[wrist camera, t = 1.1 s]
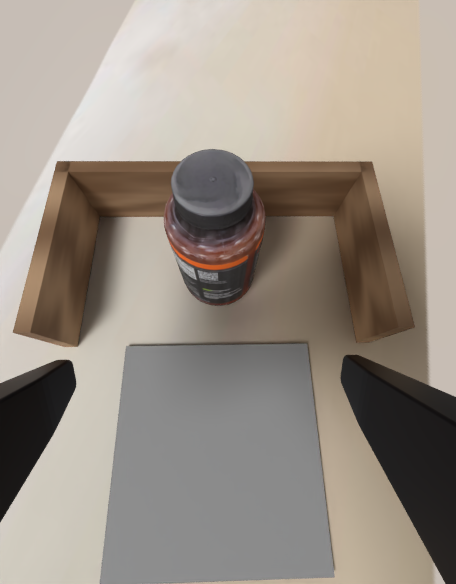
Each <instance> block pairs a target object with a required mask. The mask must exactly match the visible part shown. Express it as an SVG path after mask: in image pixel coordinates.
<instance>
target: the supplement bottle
mask: <svg viewBox="0 0 456 584" xmlns="http://www.w3.org/2000/svg"><path fill="white" fill-rule="evenodd" d="M253 187H254V180H253V175H252V172H251V170H250V168H249V167H248V165H247V164H246V163H245V162H244V161H243V160H242V159H241V158H240V157H238V156H236V155H235V154H233V153H230V152H227V151H223V150H216V149H209V150H201V151H198V152H195V153H193V154H191V155H189V156H187V157H186V158H184V159H183V160H182V161H181V162H180V163H179V164H178V165H177V166H176V168H175V170H174V172H173V175H172V178H171V188H172V194H171V196H170V197H169V200H168V201H167V204H166V207H165V212H164V227H165V231H166V234H167V237H168V239H169V242H170V245H171V247H172V250H173V253H174V255H175V258H176V261H177V263H178V266H179V269H180V271H181V274H182V276H183V279H184V282H185V284H186V286H187V288H188V290H189V291H190V292H191V294H192V295H193V296H194V297H196V298H197V299H198V300H200V301H201V302H204V303H207V304H210V305H226V304H230V303H233V302H235V301H236V300H238V299H240V298H241V297H242V296H243V295H244V294H245V293H246V292H247V291H248V289H249V287H250V285H251V283H252V280H253V276H254V272H255V268H256V264H257V260H258V256H259V251H260V247H261V244H262V240H263V234H264V230H265V219H266V217H265V210H264V205H263V203H262V201H261V199H260V197H259V196H258V194H257V193H256V191H255V190H254V189H253Z"/></svg>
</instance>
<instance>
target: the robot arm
mask: <svg viewBox="0 0 456 584" xmlns="http://www.w3.org/2000/svg"><path fill="white" fill-rule="evenodd" d="M341 383H342V386H343V388H344V391H345V393H346V395H347V398H348V400H349V403H350V405H351V407H352V410H353V412H354V415H355V417H356V419H357V421H358V424H359V426H360V428H361V430H362V432H363V433H364V435H365V437H366V439H367V441H368V443H369V444H370V446H371V448H372V450H373V452H374V454H375V455H376V457H377V459H378V461H379V463H380V465H381V466H382V468H383V470H384V472H385V474H386V476H387V477H388V479H389V481H390V483H391V485H392V487H393V488H394V490H395V492H396V494H397V496H398V497H399V499H400V501H401V503H402V505H403V507H404V508H405V510H406V512H407V514H408V516H409V518H410V519H411V521H412V523H413V525H414V527H415V529H416V530H417V532H418V534H419V536H420V538H421V540H422V541H423V543H424V545H425V547H426V549H427V551H428V552H429V554H430V556H431V558H432V560H433V562H434V563H435V565H436V567H437V569H438V571H439V572H440V574H441V576H442V578H443V580H444V582H445V584H456V397H454V396H452V395H450V394H447V393H445V392H442V391H440V390H438V389H435V388H433V387H431V386H429V385H426V384H424V383H422V382H419V381H417V380H415V379H412V378H410V377H408V376H405V375H403V374H401V373H399V372H396V371H394V370H392V369H389V368H387V367H385V366H382V365H380V364H378V363H375V362H373V361H371V360H368V359H366V358H364V357H361V356H359V355H346V356H344V358H343V364H342V371H341ZM75 388H76V378H75V373H74V368H73V364H72V362H71V361H70V360H56V361H53V362H51V363H49V364H46V365H44V366H41V367H39V368H36V369H34V370H32V371H29V372H27V373H24V374H22V375H19V376H17V377H15V378H12V379H10V380H7V381H5V382H2V383H0V522H1V520H2V519H3V517H4V516H5V514H6V512H7V511H8V509H9V507H10V506H11V504H12V502H13V501H14V499H15V497H16V496H17V494H18V492H19V491H20V489H21V487H22V486H23V484H24V482H25V481H26V479H27V477H28V476H29V474H30V472H31V471H32V469H33V467H34V466H35V464H36V462H37V461H38V459H39V457H40V456H41V454H42V452H43V451H44V449H45V448H46V446H47V444H48V443H49V441H50V439H51V437H52V436H53V434H54V432H55V430H56V428H57V426H58V424H59V422H60V420H61V418H62V416H63V414H64V412H65V410H66V407H67V405H68V403H69V401H70V399H71V397H72V395H73V393H74V391H75Z"/></svg>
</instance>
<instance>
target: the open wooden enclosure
mask: <svg viewBox="0 0 456 584" xmlns="http://www.w3.org/2000/svg"><path fill="white" fill-rule="evenodd" d="M180 162H181V161H57V163H56V167H55V171H54V175H53V179H52V183H51V187H50V191H49V194H48V198H47V202H46V206H45V210H44V214H43V218H42V221H41V225H40V229H39V233H38V237H37V241H36V245H35V248H34V252H33V256H32V260H31V264H30V268H29V272H28V276H27V279H26V283H25V287H24V291H23V295H22V299H21V303H20V306H19V310H18V314H17V318H16V322H15V326H14V330H13V333H16V334H20V335H23V336H27V337H31V338H34V339H38V340H42V341H45V342H49V343H52V344H56V345H60V346H63V347H77V346H78V340H79V335H80V329H81V323H82V317H83V312H84V306H85V300H86V294H87V288H88V283H89V277H90V271H91V265H92V259H93V254H94V248H95V242H96V236H97V230H98V225H99V219H100V217H164V212H165V207H166V204H167V201H168V200H169V197H170V196H171V194H172V188H171V178H172V175H173V172H174V170H175V168H176V166H177V165H178V164H179V163H180ZM245 163H246V164H247V165H248V167H249V168H250V170H251V172H252V175H253V180H254V187H253V189H254V190H255V191H256V193H257V194H258V196H259V197H260V199H261V201H262V203H263V205H264V210H265V216H334V221H335V226H336V232H337V237H338V243H339V248H340V254H341V260H342V265H343V271H344V276H345V282H346V287H347V293H348V298H349V304H350V309H351V315H352V320H353V326H354V332H355V337H356V343H358V342H371V341H374V340H377V339H380V338H384V337H387V336H390V335H393V334H396V333H399V332H402V331H405V330H408V329H411V328H414V327H415V326H414V322H413V318H412V314H411V310H410V306H409V302H408V299H407V295H406V291H405V287H404V283H403V279H402V275H401V272H400V268H399V264H398V260H397V256H396V252H395V249H394V245H393V241H392V237H391V233H390V229H389V225H388V222H387V218H386V214H385V210H384V206H383V202H382V198H381V195H380V191H379V187H378V183H377V179H376V175H375V171H374V168H373V164H372V162H245Z"/></svg>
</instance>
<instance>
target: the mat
mask: <svg viewBox="0 0 456 584" xmlns="http://www.w3.org/2000/svg"><path fill="white" fill-rule="evenodd" d="M329 577H335V576H334V568H333V559H332V551H331V542H330V534H329V525H328V517H327V508H326V500H325V491H324V483H323V474H322V466H321V457H320V449H319V440H318V432H317V423H316V415H315V406H314V398H313V389H312V381H311V372H310V364H309V355H308V347H307V344H242V345H174V346H126V352H125V361H124V370H123V379H122V388H121V397H120V406H119V415H118V424H117V433H116V442H115V451H114V460H113V469H112V478H111V487H110V496H109V505H108V514H107V523H106V531H105V540H104V549H103V558H102V567H101V576H100V584H158V583H187V582H215V581H244V580H272V579H301V578H329Z"/></svg>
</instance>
